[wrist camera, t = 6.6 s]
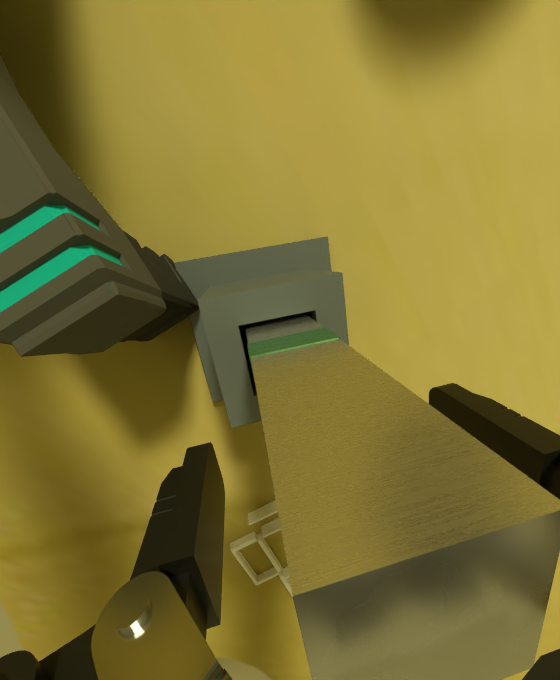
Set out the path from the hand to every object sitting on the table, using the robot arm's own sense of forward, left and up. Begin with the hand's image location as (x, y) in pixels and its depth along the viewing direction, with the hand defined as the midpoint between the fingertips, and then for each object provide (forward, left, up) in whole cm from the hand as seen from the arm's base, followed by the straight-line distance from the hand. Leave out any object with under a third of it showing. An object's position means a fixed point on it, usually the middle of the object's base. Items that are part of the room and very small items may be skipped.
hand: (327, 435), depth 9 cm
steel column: (0, 0, -11) cm, 11 cm away
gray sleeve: (0, 0, -19) cm, 19 cm away
